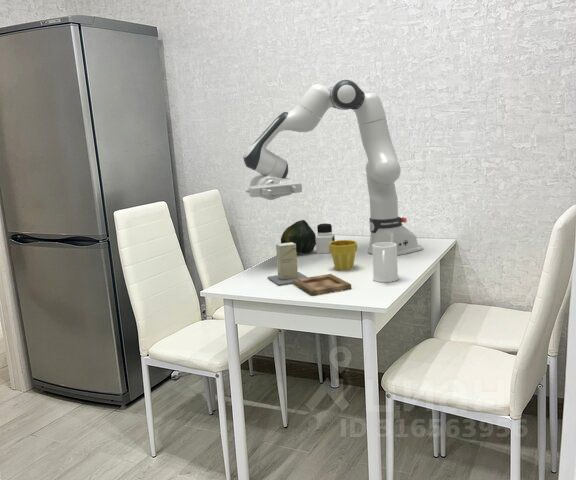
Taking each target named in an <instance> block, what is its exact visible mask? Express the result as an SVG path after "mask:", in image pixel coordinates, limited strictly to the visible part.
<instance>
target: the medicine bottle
mask: <svg viewBox="0 0 576 480" xmlns="http://www.w3.org/2000/svg"><path fill="white" fill-rule="evenodd" d="M316 227H317V230H316V231H317V235H316V245H315V253H316V255H322V254H323V255H324V254H330V255H331V253H330V252H329V243H330V242H332V241H336V239H335V238H336V237H335V233H333V229H332V228H333V225H332V224H330V223H327V222H326V223H324V222H323V223H319V224H318V225H317V226H316Z"/></svg>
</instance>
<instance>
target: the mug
mask: <svg viewBox="0 0 576 480" xmlns="http://www.w3.org/2000/svg"><path fill="white" fill-rule="evenodd" d="M372 250H373V254H372V267H373V268H372V269H373V273H372V274H373V275H372V276H373V277H372V279H373V281H374V282H376V281H377V283H393V282H392V281H394V282H397V281H398V280H399V274H398V273H399V272H398V255H397V244H396V243H392V242H380V243H375V244H373V245H372ZM396 280H397V281H396Z"/></svg>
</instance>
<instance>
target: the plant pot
mask: <svg viewBox="0 0 576 480" xmlns="http://www.w3.org/2000/svg"><path fill="white" fill-rule="evenodd" d="M329 252H330V253H331V254H330V255H331V258H332V262H333V265H334V269H335V270H336V271H350V270H352V269H353V268H354V264H355V258H356V253H357V252H358V242H357V240H352V239H339V240H335V241H332V242H330V243H329Z"/></svg>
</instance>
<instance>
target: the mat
mask: <svg viewBox="0 0 576 480" xmlns="http://www.w3.org/2000/svg"><path fill="white" fill-rule="evenodd" d="M308 277H309V276H306V275H305V274H303V273H302V272H299V271H298V277H297V278H291V279H284V280H282V279H280V278H278V274H276V275H270V276H267V279H268V280H269V281H271V283H273V284H275V285H276V286H278V287H282V286H288V285H293V280H296V279H302V278H308Z"/></svg>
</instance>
